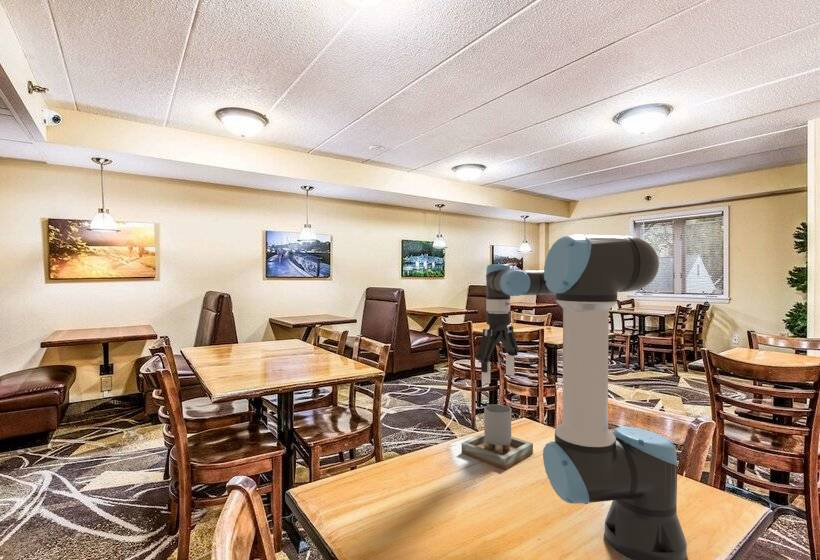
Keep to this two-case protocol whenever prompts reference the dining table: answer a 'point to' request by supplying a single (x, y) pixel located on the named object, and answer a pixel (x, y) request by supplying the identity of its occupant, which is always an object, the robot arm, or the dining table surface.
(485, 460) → the grey square tray
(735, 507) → the dining table surface
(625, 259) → the robot arm
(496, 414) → the cup
